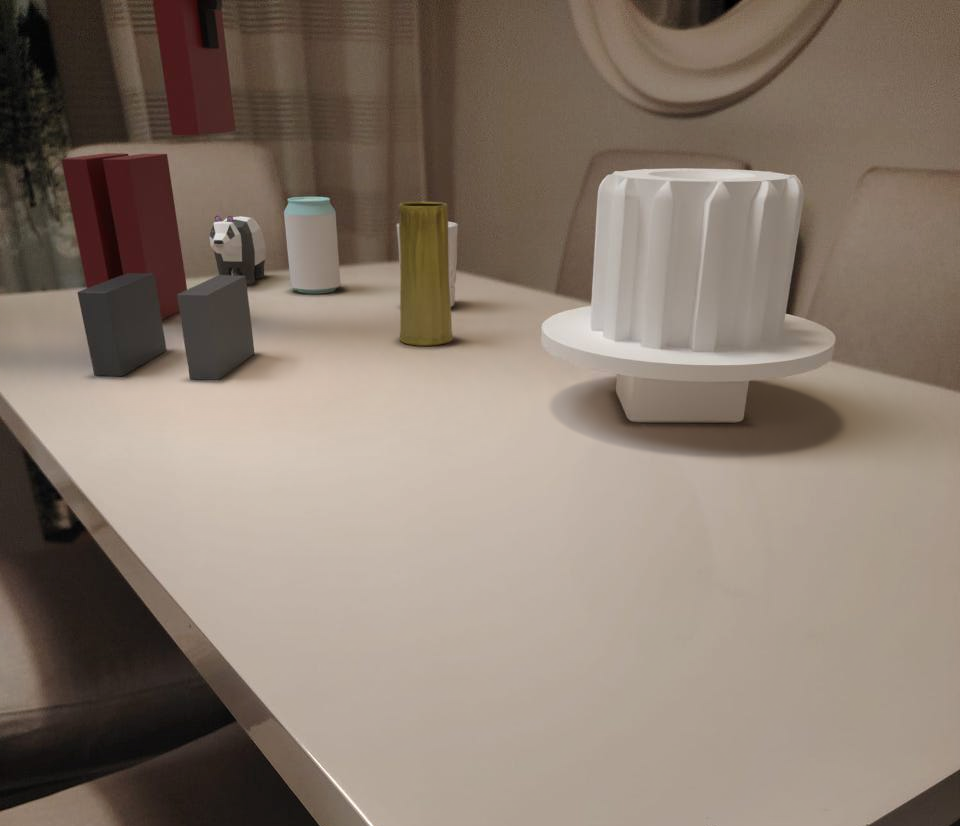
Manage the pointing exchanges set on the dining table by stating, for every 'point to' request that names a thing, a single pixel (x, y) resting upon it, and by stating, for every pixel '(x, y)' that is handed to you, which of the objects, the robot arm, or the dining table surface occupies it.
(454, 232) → the white cup
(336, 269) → the can
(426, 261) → the vase
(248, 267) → the giant panda
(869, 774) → the dining table surface
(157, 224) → the burgundy books
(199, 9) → the robot arm
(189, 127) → the burgundy book
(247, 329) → the grey bookends
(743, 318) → the flanged gear
